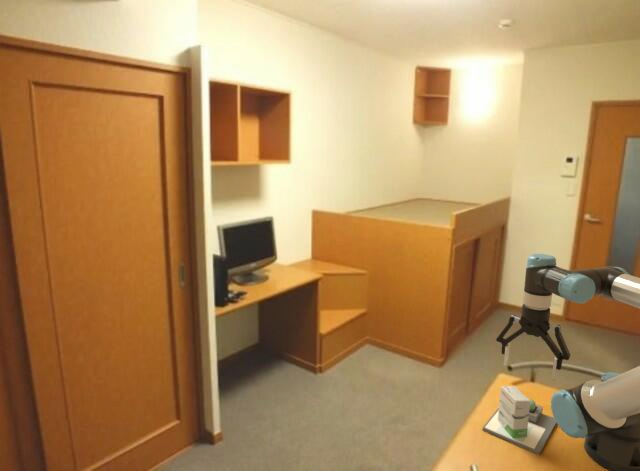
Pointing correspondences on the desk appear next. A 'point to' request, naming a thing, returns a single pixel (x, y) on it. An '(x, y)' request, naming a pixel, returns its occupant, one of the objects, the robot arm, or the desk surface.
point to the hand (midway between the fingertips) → (529, 370)
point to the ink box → (513, 411)
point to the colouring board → (536, 432)
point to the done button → (532, 406)
